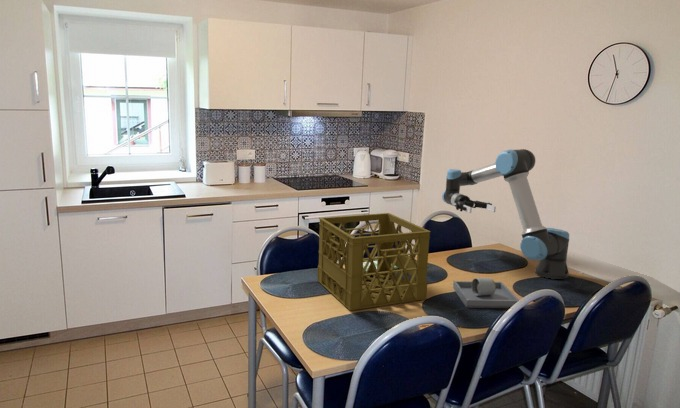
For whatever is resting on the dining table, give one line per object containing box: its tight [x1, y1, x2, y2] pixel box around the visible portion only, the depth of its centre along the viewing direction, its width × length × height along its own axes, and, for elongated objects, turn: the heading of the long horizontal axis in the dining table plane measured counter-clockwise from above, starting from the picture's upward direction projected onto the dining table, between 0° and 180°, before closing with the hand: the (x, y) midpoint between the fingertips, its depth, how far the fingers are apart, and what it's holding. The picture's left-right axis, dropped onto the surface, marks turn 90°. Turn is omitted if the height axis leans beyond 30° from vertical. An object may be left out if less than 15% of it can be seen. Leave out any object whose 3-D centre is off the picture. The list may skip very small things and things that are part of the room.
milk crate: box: [317, 212, 431, 311], centre depth 220 cm, size 35×36×30 cm
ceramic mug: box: [471, 277, 496, 296], centre depth 221 cm, size 11×8×8 cm
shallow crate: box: [452, 280, 520, 309], centre depth 219 cm, size 22×22×3 cm
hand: (482, 210), depth 252 cm, fingers open, 13 cm apart
